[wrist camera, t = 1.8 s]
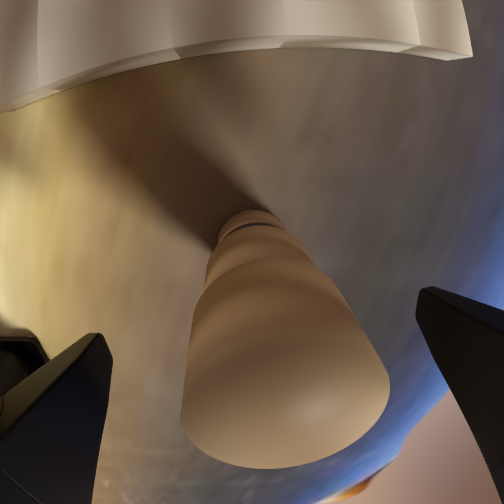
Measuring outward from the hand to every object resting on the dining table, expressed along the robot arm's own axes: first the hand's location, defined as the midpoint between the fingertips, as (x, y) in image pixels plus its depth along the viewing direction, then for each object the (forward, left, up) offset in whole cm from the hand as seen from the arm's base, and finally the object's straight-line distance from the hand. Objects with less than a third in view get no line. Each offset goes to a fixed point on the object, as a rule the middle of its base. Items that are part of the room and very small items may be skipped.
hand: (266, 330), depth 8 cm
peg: (0, 0, -6) cm, 6 cm away
